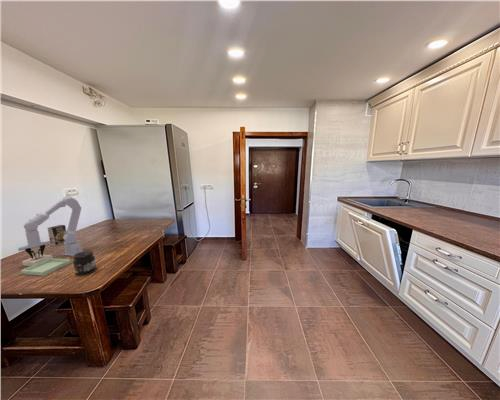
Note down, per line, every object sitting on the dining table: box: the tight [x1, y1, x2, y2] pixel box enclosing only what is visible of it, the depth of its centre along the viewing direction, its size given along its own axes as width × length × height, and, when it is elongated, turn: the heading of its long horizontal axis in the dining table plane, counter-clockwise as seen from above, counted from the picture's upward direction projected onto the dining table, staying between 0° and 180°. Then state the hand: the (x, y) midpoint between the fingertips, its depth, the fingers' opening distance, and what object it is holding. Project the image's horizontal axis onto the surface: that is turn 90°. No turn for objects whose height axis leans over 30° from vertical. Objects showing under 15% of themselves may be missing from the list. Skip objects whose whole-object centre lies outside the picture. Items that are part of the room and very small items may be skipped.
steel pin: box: [31, 248, 41, 260], centre depth 129 cm, size 4×4×9 cm
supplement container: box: [72, 250, 97, 276], centre depth 117 cm, size 10×10×12 cm
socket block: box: [22, 254, 53, 267], centre depth 129 cm, size 10×10×3 cm
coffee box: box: [47, 224, 67, 247], centre depth 159 cm, size 9×6×16 cm
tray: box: [20, 258, 72, 277], centre depth 121 cm, size 16×16×2 cm
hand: (37, 257), depth 129 cm, fingers closed on steel pin, 4 cm apart
